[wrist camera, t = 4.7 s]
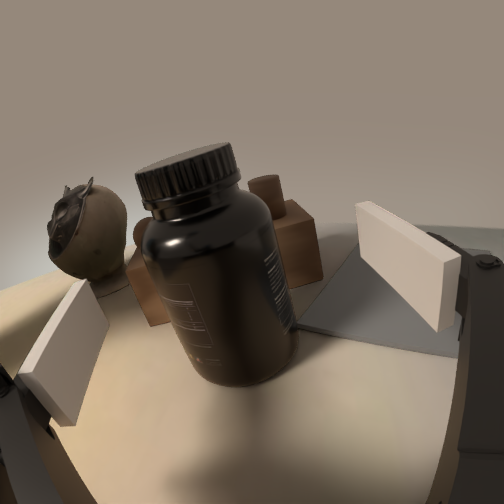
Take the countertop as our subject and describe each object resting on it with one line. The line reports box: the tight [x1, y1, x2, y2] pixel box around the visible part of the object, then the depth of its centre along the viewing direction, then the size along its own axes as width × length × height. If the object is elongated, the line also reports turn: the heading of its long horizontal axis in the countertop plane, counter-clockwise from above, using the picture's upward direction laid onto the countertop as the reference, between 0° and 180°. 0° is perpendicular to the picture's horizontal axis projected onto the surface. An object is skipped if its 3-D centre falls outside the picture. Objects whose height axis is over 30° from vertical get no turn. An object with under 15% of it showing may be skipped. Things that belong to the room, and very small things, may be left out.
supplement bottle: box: [135, 142, 299, 387], centre depth 17 cm, size 7×7×12 cm
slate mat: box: [297, 243, 490, 358], centre depth 20 cm, size 12×12×1 cm
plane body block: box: [125, 175, 323, 326], centre depth 26 cm, size 14×6×8 cm, turn 99°
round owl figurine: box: [47, 177, 130, 298], centre depth 32 cm, size 10×12×10 cm
